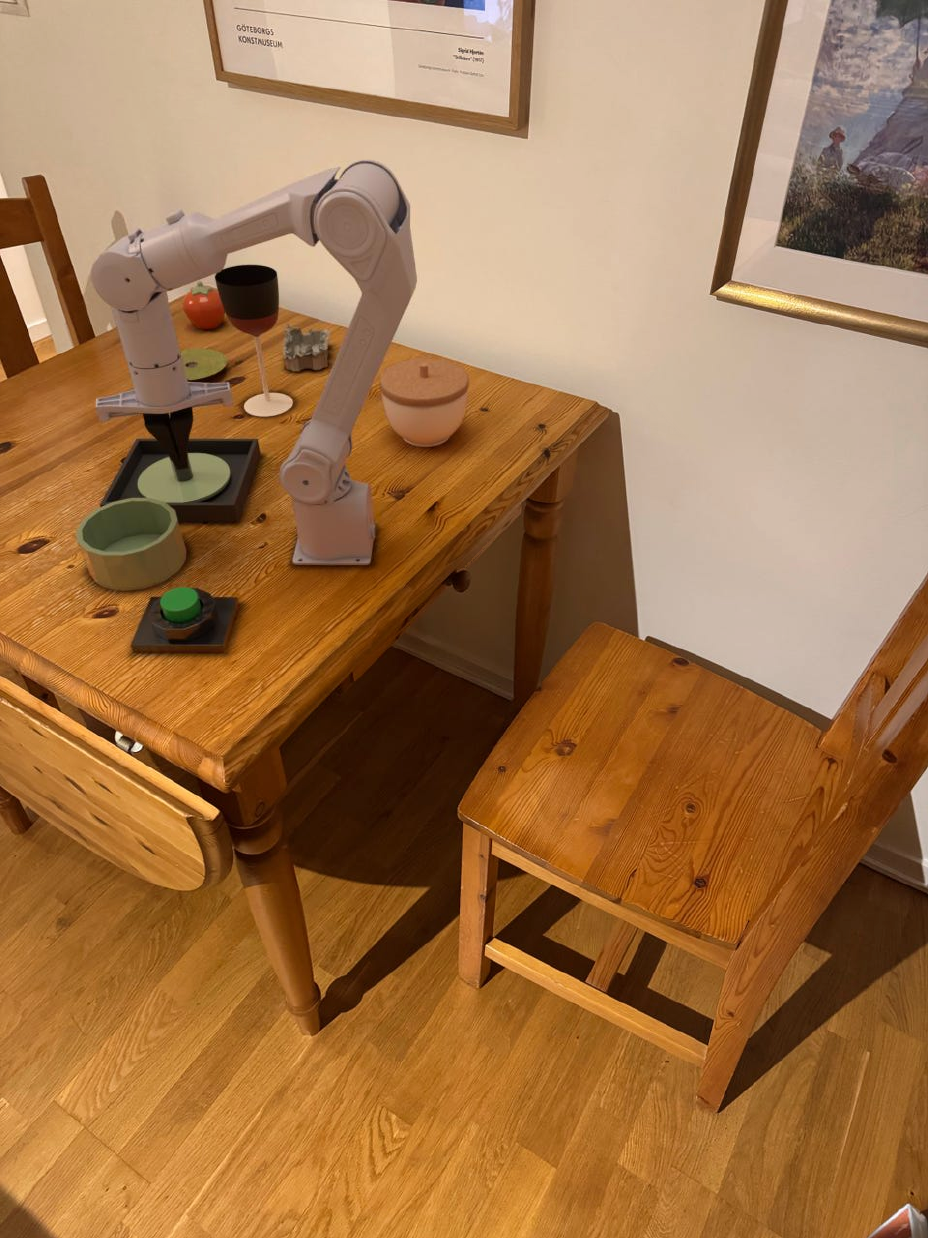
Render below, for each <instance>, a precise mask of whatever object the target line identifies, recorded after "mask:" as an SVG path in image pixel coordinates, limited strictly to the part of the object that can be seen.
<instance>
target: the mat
mask: <svg viewBox="0 0 928 1238" xmlns="http://www.w3.org/2000/svg"><path fill="white" fill-rule="evenodd" d="M180 352H181V356H182V360H183V364H184V369H185V373H186V377H187V381H195V380H200V379H204V378H207V377H211V376H213V375H216V374H217V373H219V372H221V371H222V370H223V369H224V368H225V367H226V366H227V364H228V359H227V357H226V355H225V354H224V353H222V352H220V351H218V350H215V349H210V348H203V347H202V348H188V349H182V350H180Z"/></svg>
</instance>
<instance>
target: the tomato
mask: <svg viewBox="0 0 928 1238" xmlns="http://www.w3.org/2000/svg"><path fill="white" fill-rule="evenodd" d="M189 290H190V291H188V292H187V293H185V296H184V297H183V299H182V309H183V312H184V315H185V316H186V317H187V319H188V320H189V321H190V322H191V323H192V324H193V325H194V326H195V327H196V328H198V329H200V330H213V329H216V328H217V327H220V324H222V322H223V320H224V318H225V316H226V313H225V311H224V308H223V306H222V303H221V300H220V296H219V293H218V289H214V288H213V287H212V286H209V285H206V284H203V282H202V281H201V280H198V281H196V285H195V286H193V287H190V289H189Z"/></svg>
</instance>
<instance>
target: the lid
mask: <svg viewBox="0 0 928 1238" xmlns="http://www.w3.org/2000/svg"><path fill="white" fill-rule="evenodd" d="M187 458H188V468H187V469H180V470H176V468H175V465H174V463H173V461H172V460H171V458H170V456H169V457H167V458H164V459H162V460H160V461H157V462H155V463H154V464H152V465H150V466H149V467H148V468H147V469H145V470H144V471H143V473H142V474H141V475H140V477H139V479H138V489H139V492H140V494H141V495H142V496H143V497H144V498H152V499H155V500H159V501H163V502H201V501H204V500H206V499H209V498H211V497H213V496H215V495H216V494H218V493H219V492H220V491H222V490H223V489H224V488H225V487H226V486H227V484H228V483H229V481H230V478H231V472H230V468H229V466H228V464H227V463H226V462H225V461H224V460H222V459H221V458H219V457H216V456H214V455H210V454H204V453H188V452H187Z"/></svg>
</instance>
